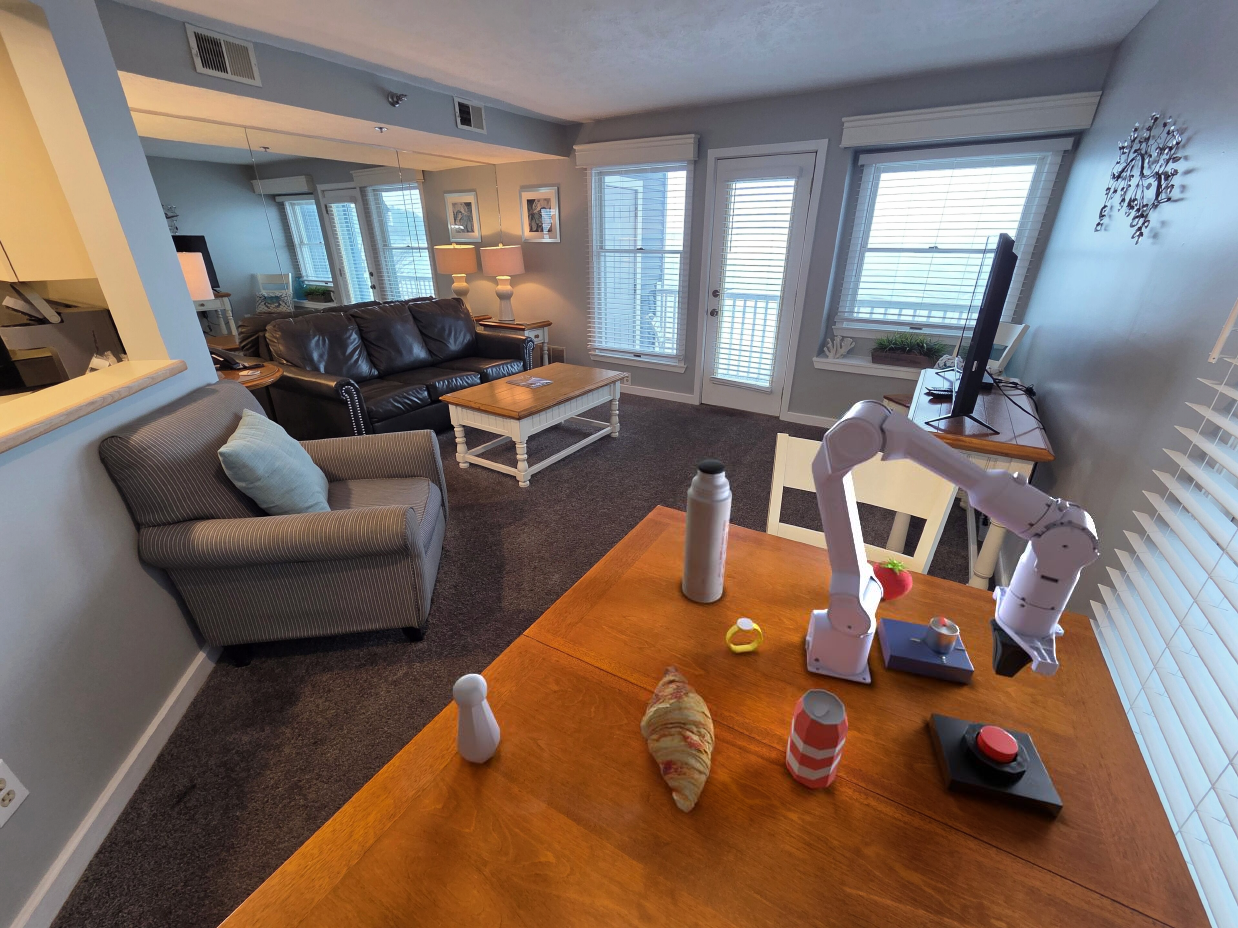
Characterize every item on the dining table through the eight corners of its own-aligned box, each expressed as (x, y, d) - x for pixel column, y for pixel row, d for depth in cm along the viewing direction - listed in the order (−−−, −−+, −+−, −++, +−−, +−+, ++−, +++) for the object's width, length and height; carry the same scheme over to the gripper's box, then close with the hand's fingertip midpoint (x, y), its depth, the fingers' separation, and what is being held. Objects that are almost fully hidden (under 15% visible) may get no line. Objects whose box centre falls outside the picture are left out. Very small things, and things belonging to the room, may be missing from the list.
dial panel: (886, 667, 83) (890, 653, 81) (877, 629, 90) (881, 616, 89) (969, 684, 80) (975, 669, 78) (953, 643, 87) (958, 629, 86)
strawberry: (888, 615, 94) (900, 571, 90) (859, 590, 100) (870, 548, 96) (913, 608, 95) (926, 565, 91) (884, 584, 102) (895, 543, 98)
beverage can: (775, 764, 68) (787, 702, 63) (803, 738, 71) (816, 677, 66) (815, 801, 63) (831, 737, 58) (842, 771, 67) (860, 708, 62)
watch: (756, 642, 88) (760, 616, 85) (762, 654, 86) (766, 627, 83) (723, 645, 88) (726, 618, 85) (728, 657, 85) (731, 630, 82)
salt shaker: (464, 777, 67) (449, 709, 61) (455, 741, 71) (441, 676, 66) (507, 757, 69) (496, 690, 64) (496, 724, 74) (485, 659, 68)
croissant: (707, 834, 63) (742, 800, 60) (637, 813, 61) (670, 777, 58) (685, 691, 82) (711, 660, 79) (631, 672, 80) (655, 639, 77)
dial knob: (955, 655, 81) (962, 635, 79) (927, 650, 82) (934, 630, 80) (948, 638, 84) (955, 618, 83) (921, 633, 85) (928, 613, 84)
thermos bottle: (728, 585, 102) (741, 461, 90) (713, 608, 96) (725, 478, 84) (692, 572, 106) (700, 451, 94) (675, 593, 100) (681, 467, 88)
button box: (947, 789, 65) (955, 769, 63) (927, 723, 73) (934, 704, 72) (1057, 816, 62) (1069, 796, 60) (1023, 744, 70) (1033, 724, 69)
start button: (982, 758, 65) (987, 749, 64) (972, 731, 68) (976, 722, 67) (1018, 766, 64) (1023, 757, 63) (1006, 738, 67) (1010, 729, 66)
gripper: (1106, 642, 56) (1061, 724, 62) (1048, 566, 69) (1015, 641, 75) (1032, 629, 58) (995, 710, 64) (989, 558, 71) (961, 631, 76)
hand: (1002, 672), depth 69 cm, fingers closed
